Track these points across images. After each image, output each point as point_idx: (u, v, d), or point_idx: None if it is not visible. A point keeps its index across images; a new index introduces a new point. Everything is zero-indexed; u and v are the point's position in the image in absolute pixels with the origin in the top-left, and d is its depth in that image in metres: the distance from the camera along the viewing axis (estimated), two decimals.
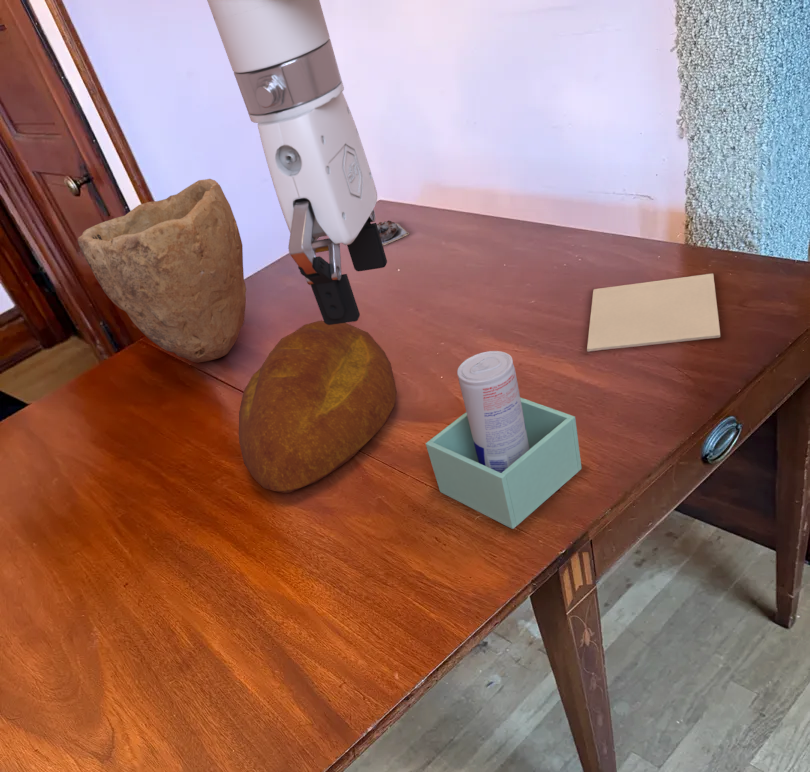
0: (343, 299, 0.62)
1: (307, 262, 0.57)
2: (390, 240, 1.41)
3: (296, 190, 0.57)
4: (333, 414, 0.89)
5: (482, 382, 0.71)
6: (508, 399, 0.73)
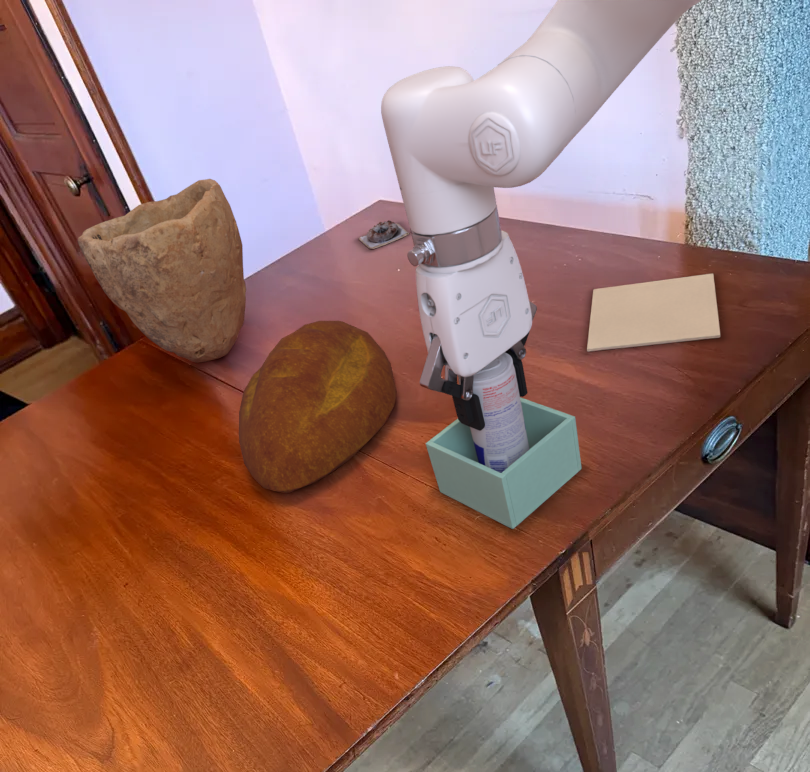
0: (472, 412, 0.73)
1: (436, 390, 0.69)
2: (390, 240, 1.41)
3: (431, 326, 0.67)
4: (333, 414, 0.89)
5: (482, 382, 0.71)
6: (508, 399, 0.73)
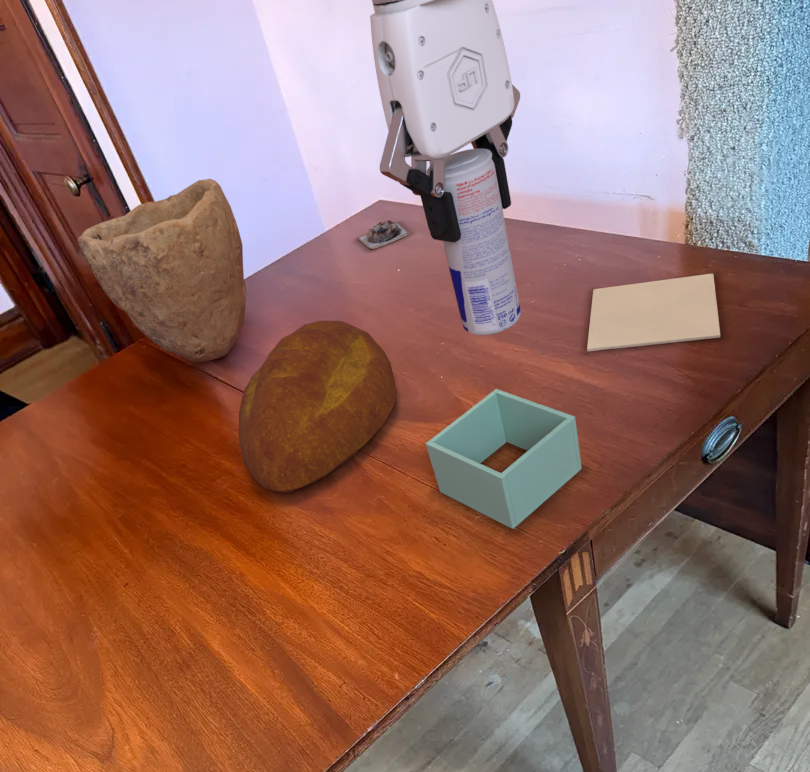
0: (445, 217, 0.62)
1: (399, 179, 0.58)
2: (390, 240, 1.41)
3: (391, 91, 0.55)
4: (333, 414, 0.89)
5: (455, 175, 0.60)
6: (487, 201, 0.61)
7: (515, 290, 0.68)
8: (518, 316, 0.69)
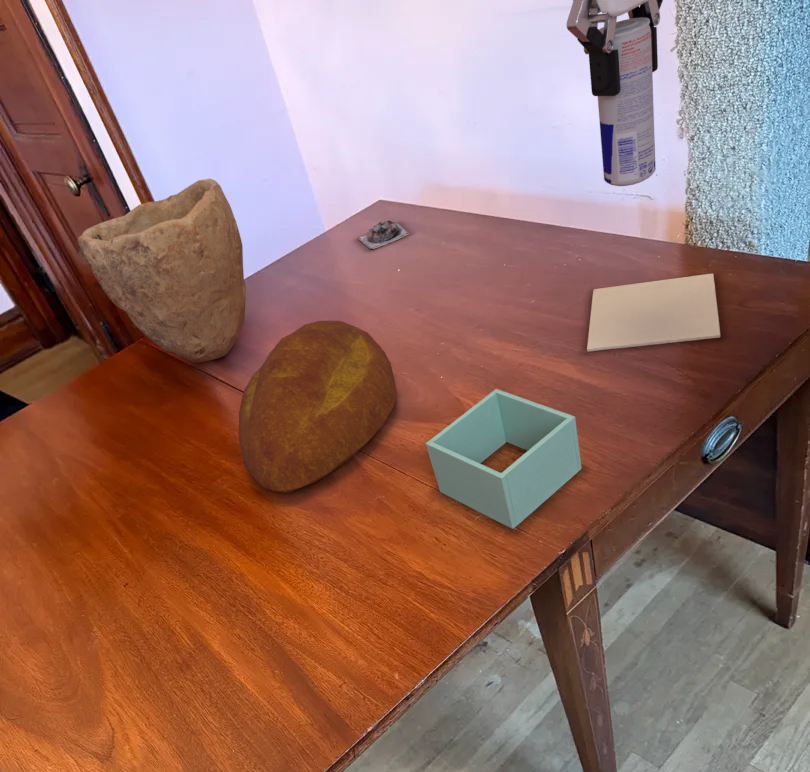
0: (609, 73, 0.75)
1: (581, 34, 0.72)
2: (390, 240, 1.41)
3: None
4: (333, 414, 0.89)
5: (622, 34, 0.73)
6: (644, 59, 0.75)
7: (654, 145, 0.82)
8: (654, 169, 0.83)
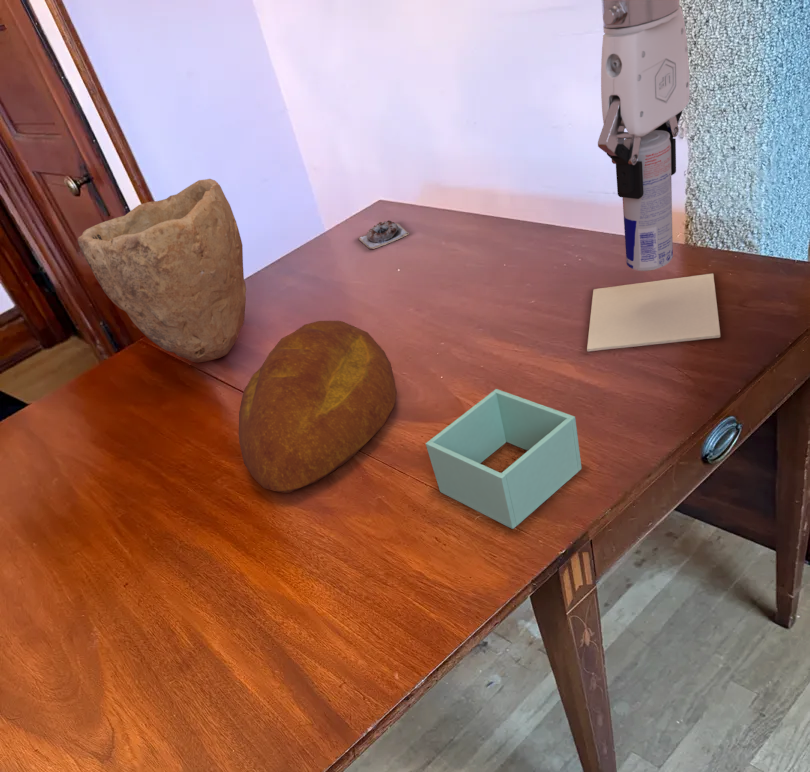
0: (634, 180, 0.85)
1: (610, 151, 0.82)
2: (390, 240, 1.41)
3: (613, 88, 0.79)
4: (333, 414, 0.89)
5: (646, 149, 0.84)
6: (665, 168, 0.85)
7: None
8: (671, 257, 0.93)
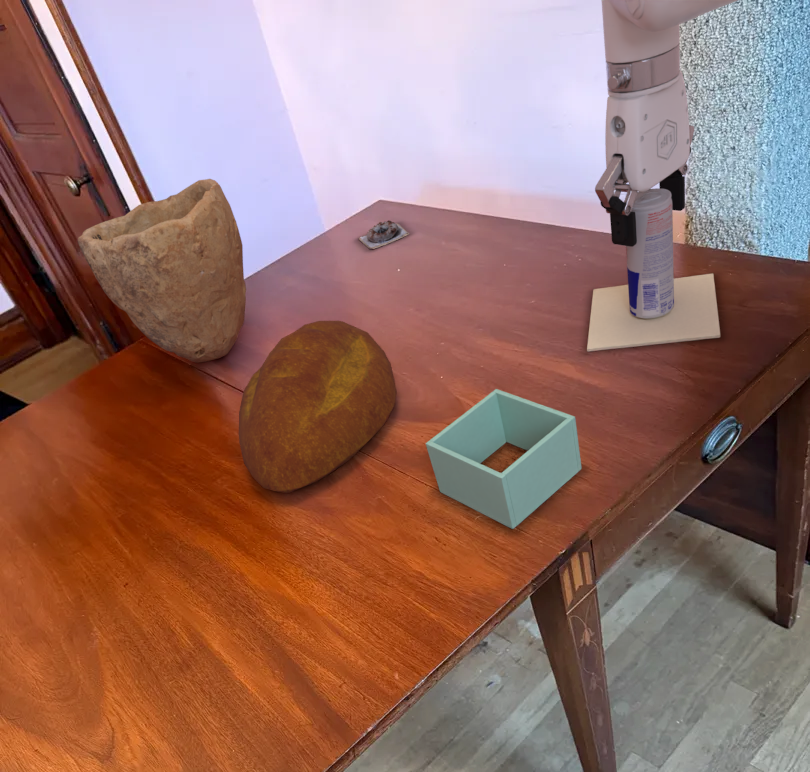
0: (627, 229, 0.88)
1: (605, 199, 0.84)
2: (390, 240, 1.41)
3: (617, 147, 0.83)
4: (333, 414, 0.89)
5: (648, 208, 0.88)
6: (666, 225, 0.90)
7: (673, 287, 0.96)
8: (673, 305, 0.98)
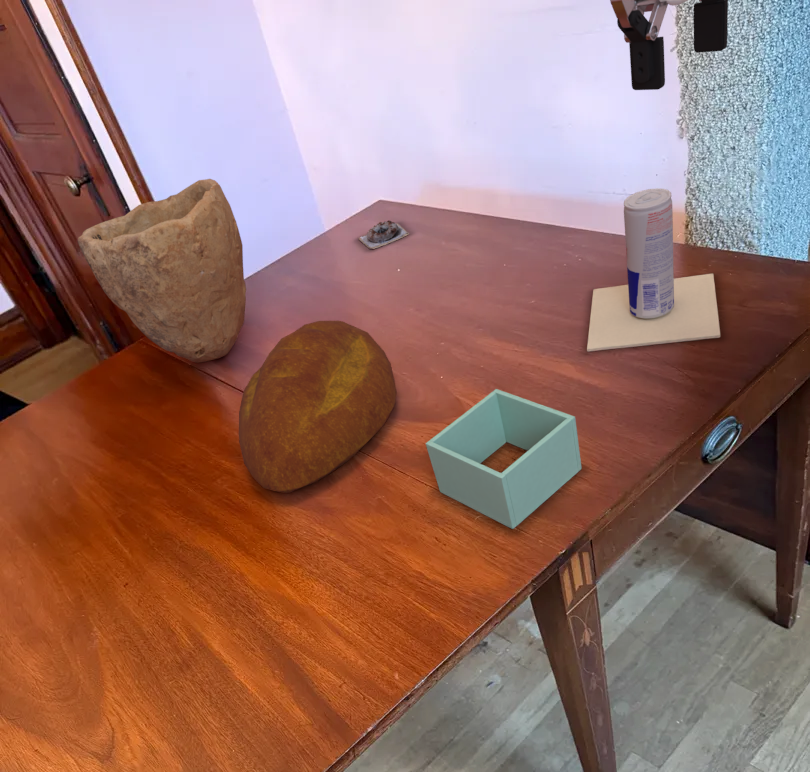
0: (653, 63, 0.67)
1: (623, 12, 0.63)
2: (390, 240, 1.41)
3: None
4: (333, 414, 0.89)
5: (648, 208, 0.88)
6: (666, 225, 0.90)
7: (673, 287, 0.96)
8: (673, 305, 0.98)
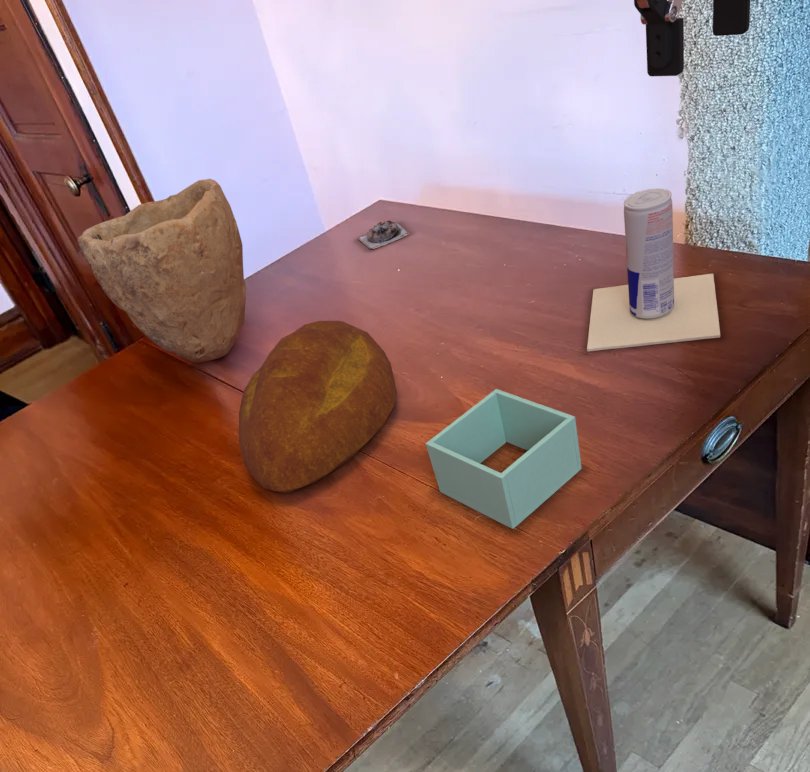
0: (671, 47, 0.61)
1: None
2: (390, 240, 1.41)
3: None
4: (333, 414, 0.89)
5: (648, 208, 0.88)
6: (667, 225, 0.90)
7: (673, 287, 0.96)
8: (673, 305, 0.98)
